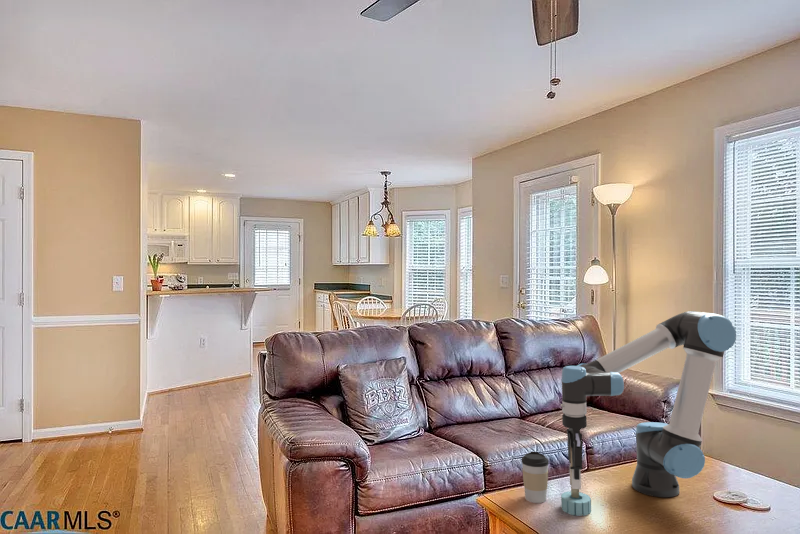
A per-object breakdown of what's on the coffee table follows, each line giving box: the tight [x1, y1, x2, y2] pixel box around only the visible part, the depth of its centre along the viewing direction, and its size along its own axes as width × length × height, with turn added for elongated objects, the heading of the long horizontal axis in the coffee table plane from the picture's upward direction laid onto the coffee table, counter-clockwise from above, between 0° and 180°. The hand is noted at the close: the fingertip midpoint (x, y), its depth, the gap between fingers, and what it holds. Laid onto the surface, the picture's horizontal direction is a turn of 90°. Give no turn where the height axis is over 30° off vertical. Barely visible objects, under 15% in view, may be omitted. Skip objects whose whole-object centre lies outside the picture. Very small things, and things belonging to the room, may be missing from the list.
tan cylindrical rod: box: [570, 447, 580, 498], centre depth 171 cm, size 2×2×16 cm
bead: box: [560, 490, 592, 517], centre depth 171 cm, size 9×9×4 cm
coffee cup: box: [521, 451, 550, 504], centre depth 179 cm, size 9×9×15 cm
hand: (575, 486), depth 171 cm, fingers closed on tan cylindrical rod, 2 cm apart
